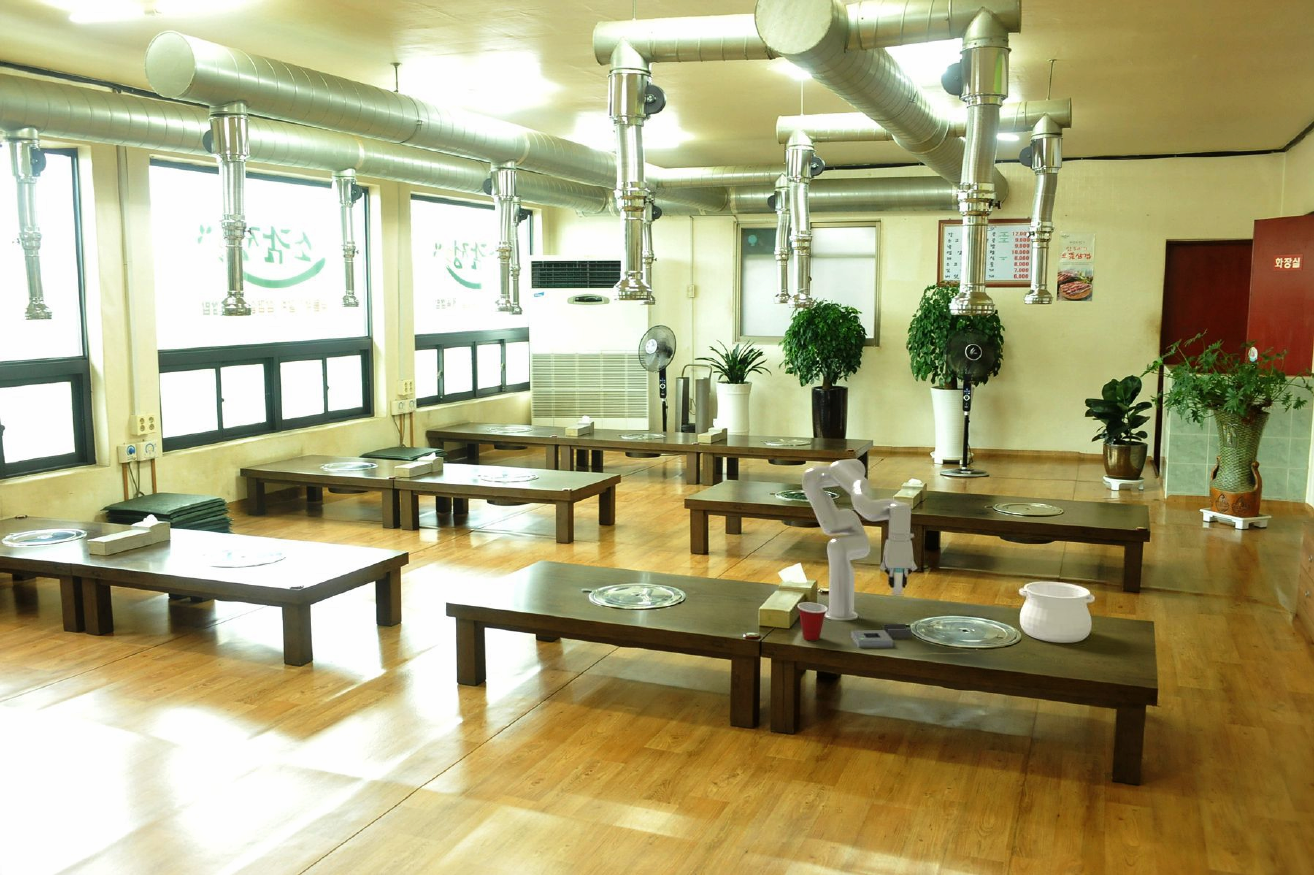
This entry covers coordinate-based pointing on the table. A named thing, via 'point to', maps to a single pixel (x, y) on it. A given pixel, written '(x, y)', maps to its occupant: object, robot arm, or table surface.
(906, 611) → the table surface
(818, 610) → the plastic cup
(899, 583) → the white cylinder
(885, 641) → the port
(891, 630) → the holster
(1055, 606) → the pot
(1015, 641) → the table surface
